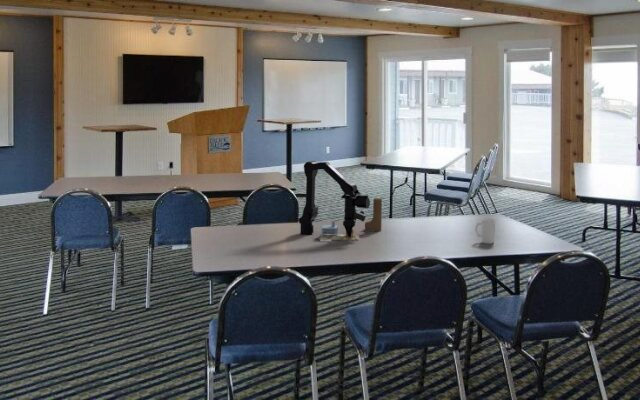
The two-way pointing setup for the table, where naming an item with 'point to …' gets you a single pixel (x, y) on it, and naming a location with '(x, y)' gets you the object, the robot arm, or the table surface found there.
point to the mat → (325, 240)
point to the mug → (486, 230)
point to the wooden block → (375, 216)
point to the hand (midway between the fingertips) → (349, 236)
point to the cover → (329, 229)
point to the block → (351, 234)
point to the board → (338, 237)
